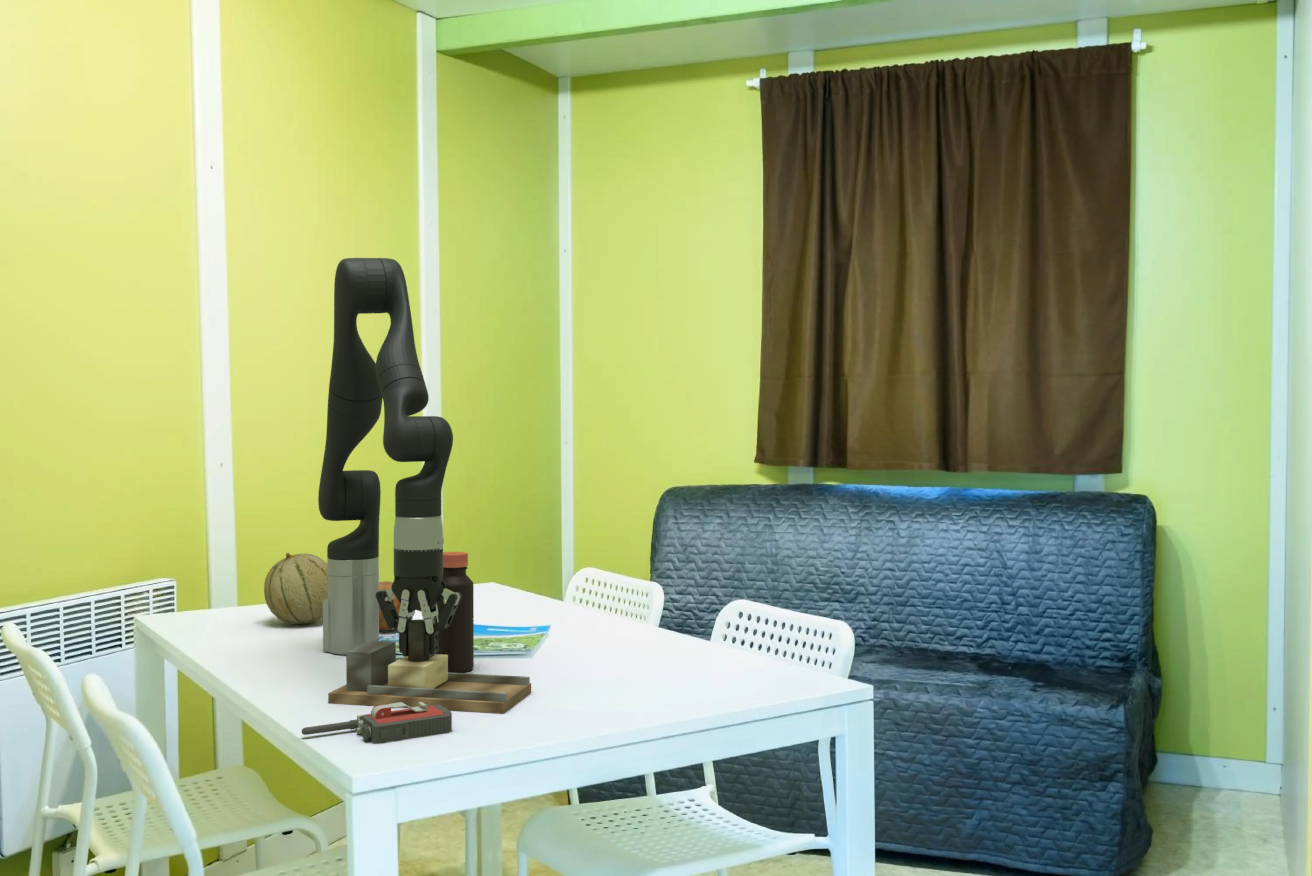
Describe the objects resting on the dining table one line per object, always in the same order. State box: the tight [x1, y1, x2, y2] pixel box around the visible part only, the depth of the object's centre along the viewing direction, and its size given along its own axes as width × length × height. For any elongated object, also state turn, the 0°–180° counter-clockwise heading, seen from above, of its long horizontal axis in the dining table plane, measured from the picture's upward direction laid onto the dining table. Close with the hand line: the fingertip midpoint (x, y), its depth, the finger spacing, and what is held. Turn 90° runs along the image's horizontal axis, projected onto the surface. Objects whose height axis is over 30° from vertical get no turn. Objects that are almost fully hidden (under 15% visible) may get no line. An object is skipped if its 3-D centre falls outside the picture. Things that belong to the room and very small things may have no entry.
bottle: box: [435, 551, 475, 673], centre depth 201 cm, size 7×7×20 cm
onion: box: [379, 580, 401, 632], centre depth 236 cm, size 10×10×10 cm
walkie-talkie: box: [301, 702, 453, 745], centre depth 162 cm, size 9×4×20 cm
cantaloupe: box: [263, 552, 328, 625], centre depth 243 cm, size 15×15×15 cm
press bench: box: [327, 640, 532, 715], centre depth 182 cm, size 28×13×8 cm, turn 78°
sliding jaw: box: [388, 618, 448, 689], centre depth 182 cm, size 6×9×10 cm, turn 168°
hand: (418, 655), depth 182 cm, fingers closed on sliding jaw, 3 cm apart
